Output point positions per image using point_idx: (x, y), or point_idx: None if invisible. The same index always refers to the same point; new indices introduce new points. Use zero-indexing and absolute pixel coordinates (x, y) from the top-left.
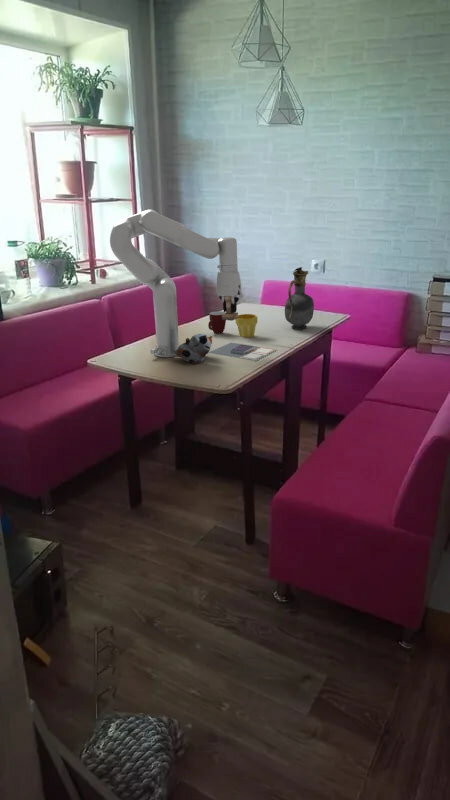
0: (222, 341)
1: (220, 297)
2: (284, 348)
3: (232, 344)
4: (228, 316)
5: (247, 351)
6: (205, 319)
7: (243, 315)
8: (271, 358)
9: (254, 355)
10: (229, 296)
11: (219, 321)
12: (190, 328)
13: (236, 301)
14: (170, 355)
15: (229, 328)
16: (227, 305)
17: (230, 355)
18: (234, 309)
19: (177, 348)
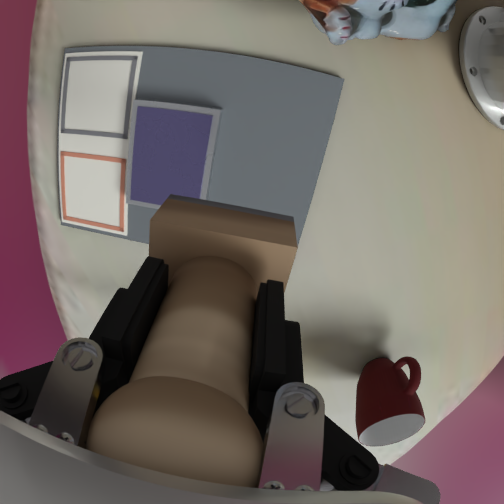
0: (339, 290)
1: (353, 463)
2: (64, 260)
3: None
4: (203, 218)
5: (132, 131)
6: (423, 435)
7: None
8: (39, 124)
9: (91, 106)
10: (59, 440)
11: (378, 396)
12: (465, 376)
13: (43, 369)
14: (483, 8)
15: (349, 409)
16: (203, 333)
17: (201, 62)
18: (119, 293)
19: (488, 50)
